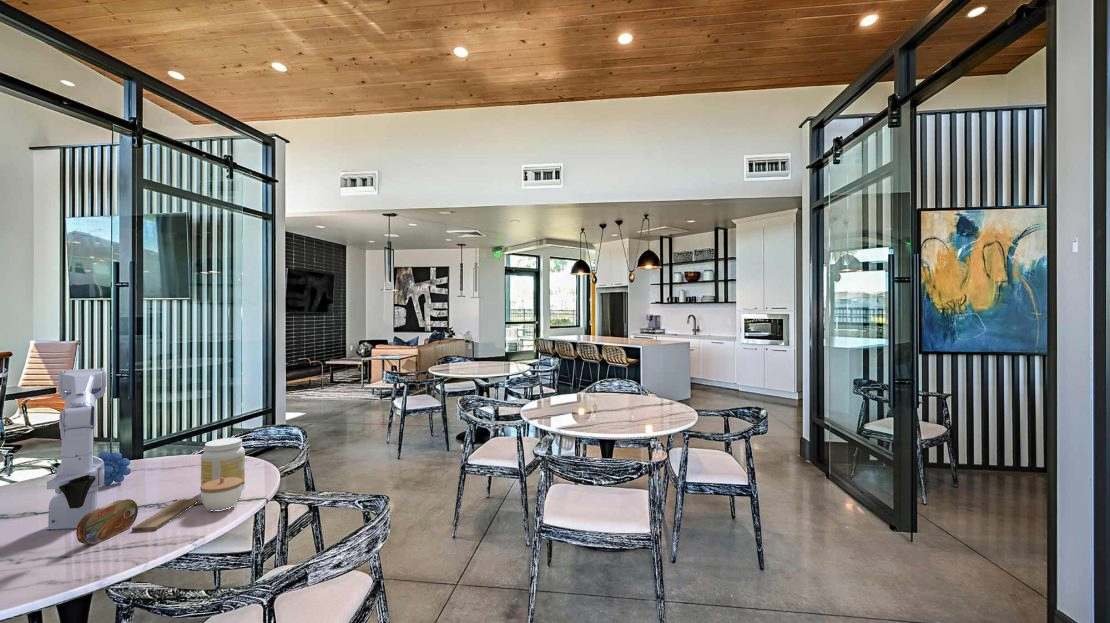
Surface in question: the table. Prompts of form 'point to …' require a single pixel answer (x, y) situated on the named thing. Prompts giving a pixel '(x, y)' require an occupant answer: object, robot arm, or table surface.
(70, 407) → the robot arm
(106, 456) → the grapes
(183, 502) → the walnut board
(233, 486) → the lidded jar
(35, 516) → the table surface
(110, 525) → the tin
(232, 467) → the supplement tub
